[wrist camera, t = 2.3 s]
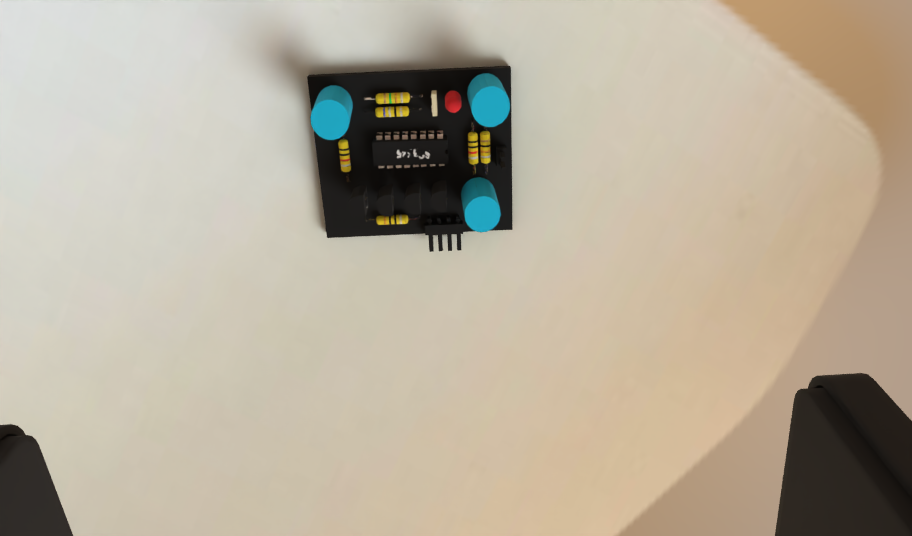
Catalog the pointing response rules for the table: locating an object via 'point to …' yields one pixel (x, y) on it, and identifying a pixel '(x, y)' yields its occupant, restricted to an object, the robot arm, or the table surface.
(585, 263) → the table surface
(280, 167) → the table surface
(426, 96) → the circuit board
